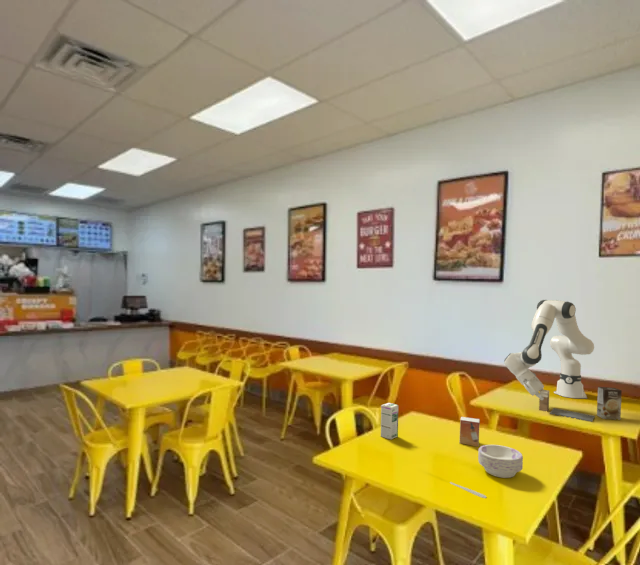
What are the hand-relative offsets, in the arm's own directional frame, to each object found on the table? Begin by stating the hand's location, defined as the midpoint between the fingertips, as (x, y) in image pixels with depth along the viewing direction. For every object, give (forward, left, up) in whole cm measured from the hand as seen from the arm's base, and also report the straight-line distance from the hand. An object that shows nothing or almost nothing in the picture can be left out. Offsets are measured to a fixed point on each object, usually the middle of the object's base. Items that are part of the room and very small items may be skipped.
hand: (544, 398), depth 241 cm
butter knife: (+126, -6, -7) cm, 126 cm away
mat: (0, +14, -7) cm, 15 cm away
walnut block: (0, 0, -7) cm, 7 cm away
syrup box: (+101, -44, -7) cm, 111 cm away
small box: (+83, -14, -7) cm, 85 cm away
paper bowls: (+105, +5, -7) cm, 105 cm away
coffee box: (-10, +30, -7) cm, 32 cm away
